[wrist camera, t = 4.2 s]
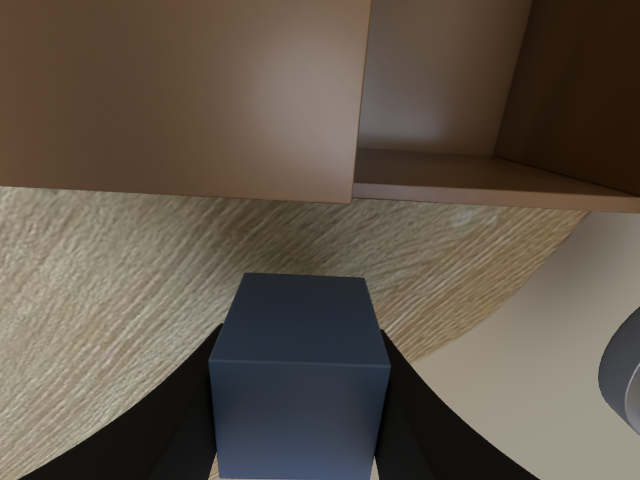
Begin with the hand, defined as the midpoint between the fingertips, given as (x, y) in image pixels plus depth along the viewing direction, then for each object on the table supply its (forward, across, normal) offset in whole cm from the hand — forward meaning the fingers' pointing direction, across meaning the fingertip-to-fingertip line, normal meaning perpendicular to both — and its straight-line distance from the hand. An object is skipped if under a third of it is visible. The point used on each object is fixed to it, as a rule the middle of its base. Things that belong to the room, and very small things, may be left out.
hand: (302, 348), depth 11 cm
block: (+1, 0, 0) cm, 1 cm away
